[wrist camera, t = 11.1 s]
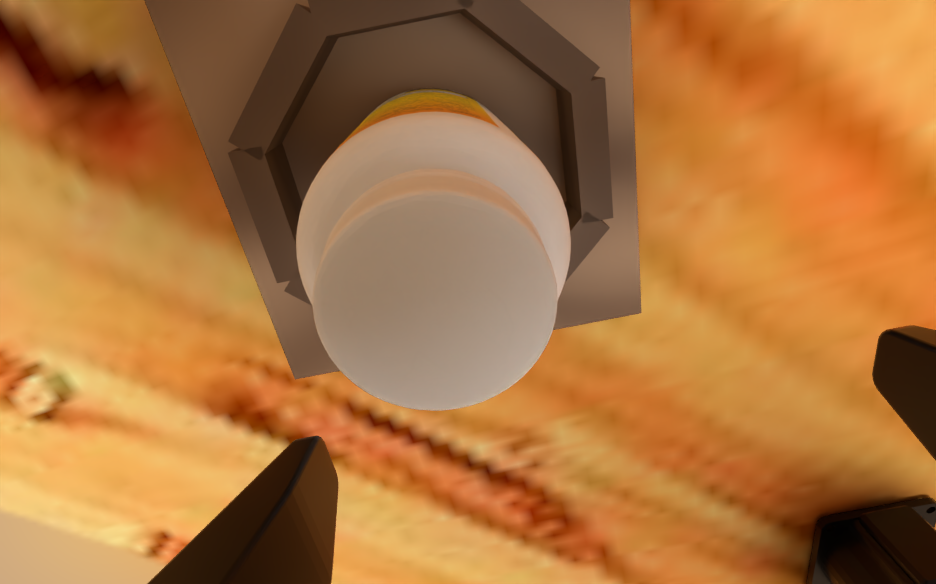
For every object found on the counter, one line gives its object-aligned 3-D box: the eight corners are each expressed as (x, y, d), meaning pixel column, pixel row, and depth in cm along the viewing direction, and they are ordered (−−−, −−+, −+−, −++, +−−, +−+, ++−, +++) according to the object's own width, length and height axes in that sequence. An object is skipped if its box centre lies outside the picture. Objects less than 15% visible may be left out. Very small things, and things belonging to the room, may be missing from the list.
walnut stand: (627, 296, 22) (661, 338, 19) (303, 359, 22) (282, 410, 19) (608, -110, 16) (653, -150, 12) (159, -19, 16) (93, -35, 13)
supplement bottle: (316, 181, 17) (183, 330, 8) (423, 46, 16) (413, 35, 6) (441, 280, 19) (451, 496, 10) (548, 167, 18) (680, 296, 8)
